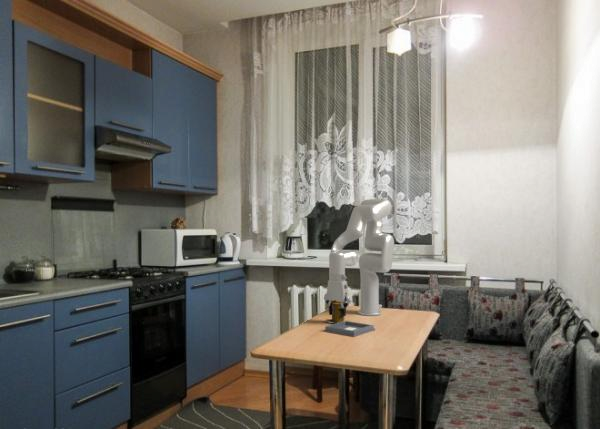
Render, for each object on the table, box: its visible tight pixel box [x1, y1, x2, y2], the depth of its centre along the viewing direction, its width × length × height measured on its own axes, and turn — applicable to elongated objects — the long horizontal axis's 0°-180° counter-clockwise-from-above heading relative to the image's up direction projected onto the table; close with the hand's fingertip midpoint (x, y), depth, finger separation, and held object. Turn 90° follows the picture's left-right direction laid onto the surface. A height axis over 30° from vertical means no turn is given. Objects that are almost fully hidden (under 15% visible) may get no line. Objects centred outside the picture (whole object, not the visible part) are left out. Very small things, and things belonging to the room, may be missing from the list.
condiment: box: [325, 300, 346, 324], centre depth 237 cm, size 7×8×12 cm
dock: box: [323, 320, 376, 338], centre depth 220 cm, size 17×16×2 cm
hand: (337, 315), depth 237 cm, fingers closed on condiment, 6 cm apart
